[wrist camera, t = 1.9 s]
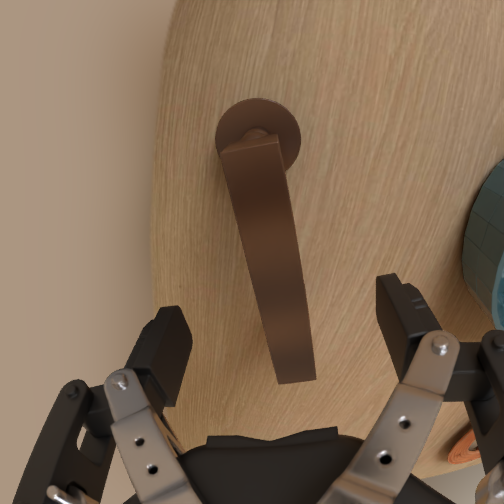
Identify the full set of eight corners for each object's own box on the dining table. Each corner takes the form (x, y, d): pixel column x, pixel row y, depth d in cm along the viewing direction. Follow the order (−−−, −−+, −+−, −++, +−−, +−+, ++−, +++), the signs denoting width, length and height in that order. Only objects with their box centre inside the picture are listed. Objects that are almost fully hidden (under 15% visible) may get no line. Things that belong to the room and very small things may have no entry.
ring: (566, 359, 31) (572, 367, 28) (518, 430, 42) (521, 437, 40) (470, 404, 34) (475, 416, 32) (430, 466, 45) (432, 475, 43)
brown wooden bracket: (215, 107, 19) (176, 113, 11) (289, 92, 19) (301, 86, 11) (262, 302, 26) (257, 386, 18) (321, 294, 26) (337, 377, 18)
